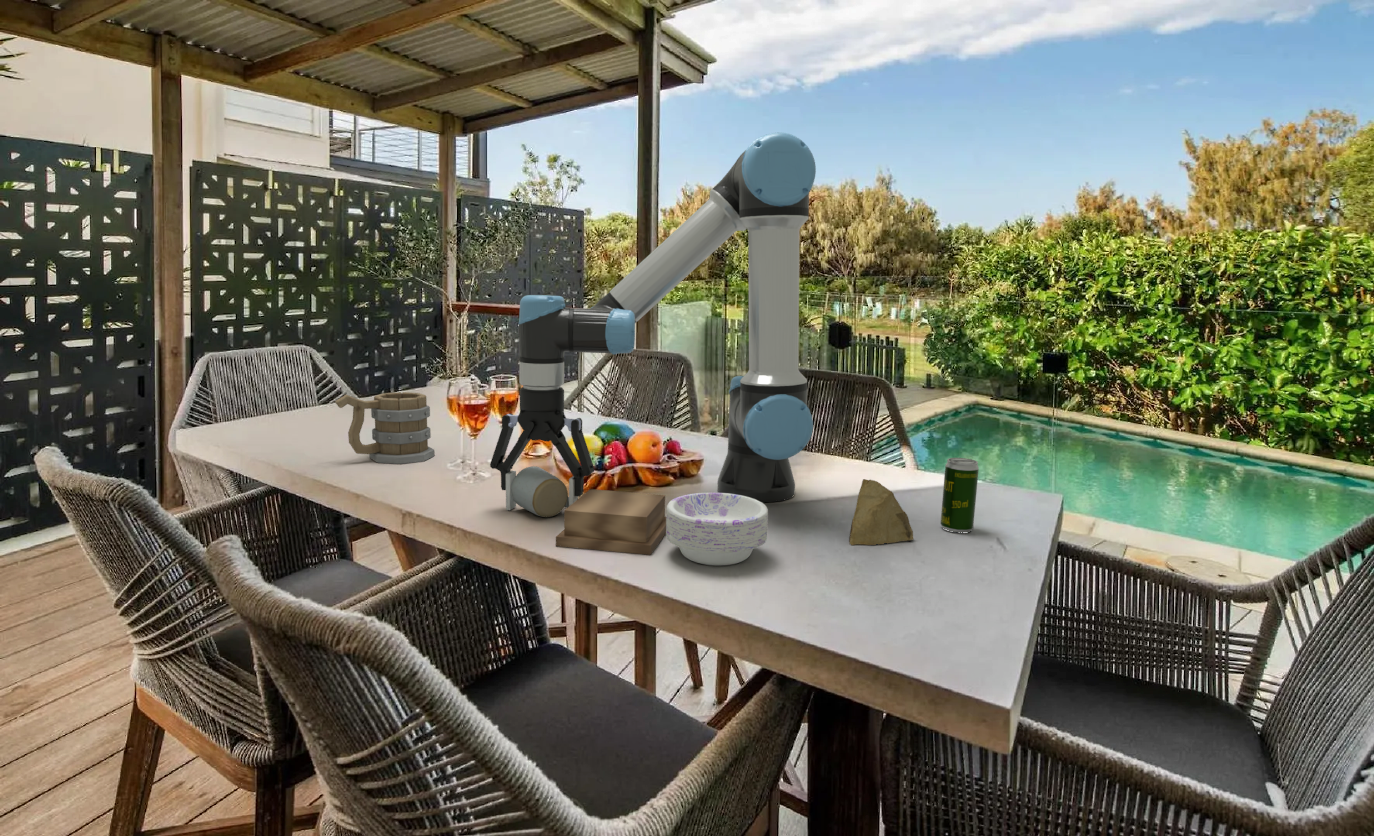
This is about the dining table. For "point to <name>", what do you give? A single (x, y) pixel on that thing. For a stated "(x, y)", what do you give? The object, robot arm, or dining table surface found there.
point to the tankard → (392, 427)
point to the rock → (878, 517)
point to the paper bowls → (716, 527)
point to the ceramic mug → (539, 492)
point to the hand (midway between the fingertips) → (542, 510)
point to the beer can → (959, 494)
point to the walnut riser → (614, 522)
